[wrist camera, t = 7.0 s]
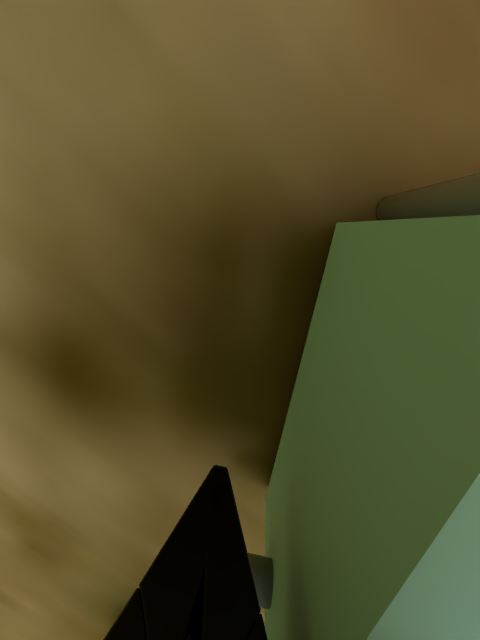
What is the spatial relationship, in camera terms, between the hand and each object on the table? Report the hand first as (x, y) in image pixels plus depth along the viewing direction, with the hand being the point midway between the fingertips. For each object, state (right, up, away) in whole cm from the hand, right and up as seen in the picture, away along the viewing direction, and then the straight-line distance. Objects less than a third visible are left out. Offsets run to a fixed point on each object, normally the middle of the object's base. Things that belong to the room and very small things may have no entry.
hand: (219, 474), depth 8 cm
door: (+3, +2, +2) cm, 4 cm away
